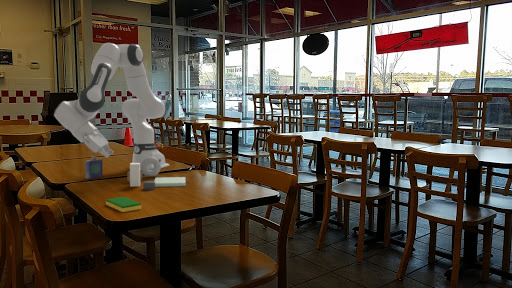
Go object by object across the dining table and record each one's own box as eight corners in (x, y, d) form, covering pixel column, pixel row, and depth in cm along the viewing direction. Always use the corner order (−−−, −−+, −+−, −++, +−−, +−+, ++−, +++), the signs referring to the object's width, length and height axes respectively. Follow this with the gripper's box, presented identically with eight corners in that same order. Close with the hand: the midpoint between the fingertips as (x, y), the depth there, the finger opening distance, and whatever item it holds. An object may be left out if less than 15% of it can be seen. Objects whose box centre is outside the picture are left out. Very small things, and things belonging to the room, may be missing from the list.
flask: (87, 179, 197) (86, 157, 196) (83, 179, 199) (83, 157, 198) (104, 176, 205) (103, 155, 204) (100, 176, 207) (99, 155, 206)
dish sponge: (122, 213, 141) (122, 206, 141) (105, 205, 152) (105, 199, 151) (141, 209, 146) (141, 203, 146) (124, 202, 156) (124, 196, 156)
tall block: (131, 184, 187) (130, 162, 186) (140, 184, 188) (140, 162, 187) (130, 186, 183) (129, 164, 182) (139, 186, 184) (139, 164, 183)
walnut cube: (132, 180, 198) (132, 170, 197) (142, 180, 197) (142, 170, 196) (127, 182, 193) (127, 171, 192) (137, 182, 192) (137, 172, 191)
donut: (160, 175, 211) (159, 156, 210) (161, 176, 208) (161, 157, 207) (140, 176, 207) (139, 157, 206) (141, 177, 204) (140, 157, 203)
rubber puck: (148, 187, 182) (148, 180, 182) (157, 188, 180) (157, 181, 180) (140, 189, 178) (140, 182, 178) (149, 190, 176) (149, 183, 175)
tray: (155, 180, 197) (155, 177, 197) (185, 180, 199) (185, 177, 199) (153, 186, 183) (153, 183, 183) (185, 186, 186) (185, 182, 186)
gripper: (86, 129, 169) (111, 153, 172) (96, 126, 189) (119, 147, 192) (74, 140, 169) (100, 163, 172) (86, 136, 189) (109, 157, 192)
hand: (110, 155), depth 182 cm, fingers open, 8 cm apart
